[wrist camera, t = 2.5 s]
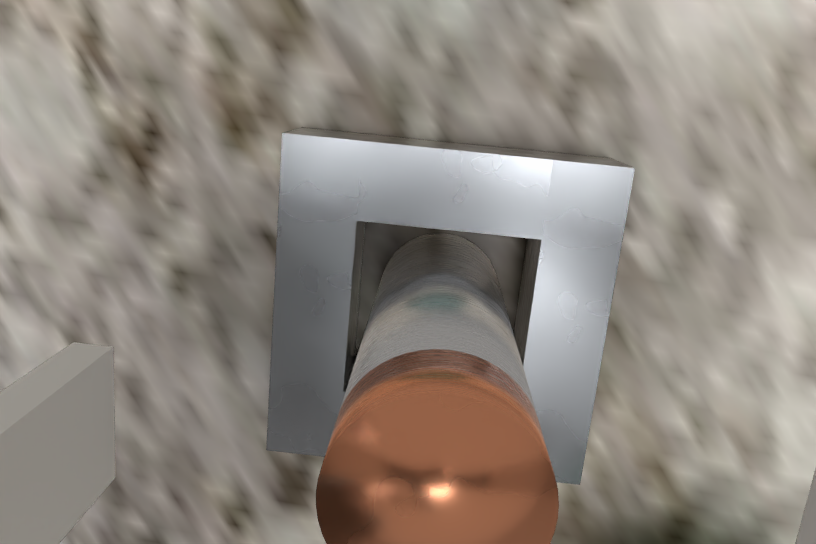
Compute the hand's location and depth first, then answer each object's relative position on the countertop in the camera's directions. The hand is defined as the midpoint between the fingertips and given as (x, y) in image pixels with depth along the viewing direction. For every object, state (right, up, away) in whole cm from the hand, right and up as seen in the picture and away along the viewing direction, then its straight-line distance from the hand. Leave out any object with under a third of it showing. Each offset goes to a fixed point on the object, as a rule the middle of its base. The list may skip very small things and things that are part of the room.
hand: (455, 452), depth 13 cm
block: (0, +3, +11) cm, 11 cm away
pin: (0, +3, +11) cm, 11 cm away
